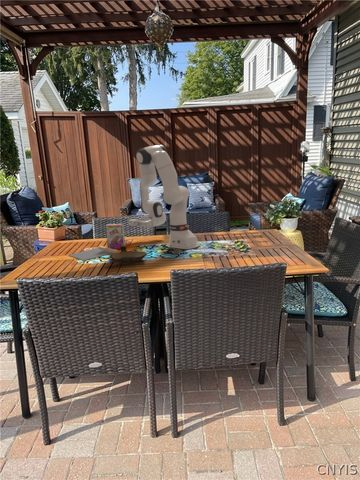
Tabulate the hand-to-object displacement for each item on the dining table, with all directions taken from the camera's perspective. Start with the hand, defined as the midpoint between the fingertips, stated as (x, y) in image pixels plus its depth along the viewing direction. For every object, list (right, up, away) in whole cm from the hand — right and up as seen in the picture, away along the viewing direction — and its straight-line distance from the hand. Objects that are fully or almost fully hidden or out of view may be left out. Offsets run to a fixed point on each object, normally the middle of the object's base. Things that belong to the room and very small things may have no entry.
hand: (130, 224), depth 252 cm
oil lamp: (+4, -23, -38) cm, 44 cm away
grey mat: (-22, -20, -17) cm, 34 cm away
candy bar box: (-9, -16, -5) cm, 19 cm away
